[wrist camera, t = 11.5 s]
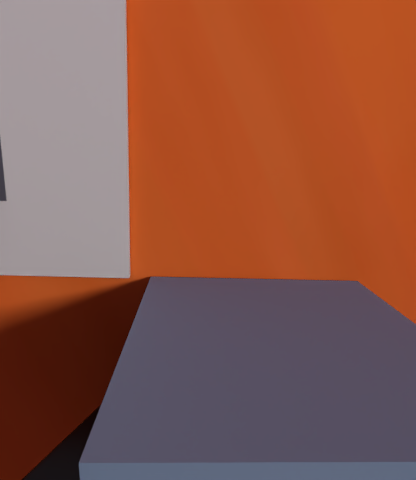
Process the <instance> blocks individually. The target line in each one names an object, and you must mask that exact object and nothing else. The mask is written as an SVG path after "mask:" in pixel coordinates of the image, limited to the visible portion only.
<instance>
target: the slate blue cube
mask: <svg viewBox="0 0 416 480" xmlns="http://www.w3.org/2000/svg"><path fill="white" fill-rule="evenodd" d="M79 475H80V480H416V324H414V323H413V322H412V321H410V320H409V319H408V318H406V317H405V316H404V315H402V314H401V313H400V312H398V311H397V310H396V309H394V308H393V307H392V306H390V305H389V304H387V303H386V302H385V301H383V300H382V299H381V298H379V297H378V296H377V295H375V294H374V293H373V292H371V291H370V290H369V289H367V288H366V287H365V286H363V285H362V284H361V283H359V282H358V281H331V280H284V279H236V278H189V277H150V280H149V283H148V285H147V288H146V290H145V293H144V295H143V298H142V301H141V303H140V306H139V308H138V311H137V314H136V316H135V319H134V321H133V324H132V327H131V329H130V332H129V334H128V337H127V339H126V342H125V345H124V347H123V350H122V352H121V355H120V358H119V360H118V363H117V365H116V368H115V370H114V373H113V376H112V378H111V381H110V383H109V386H108V389H107V391H106V394H105V396H104V399H103V402H102V404H101V407H100V409H99V412H98V414H97V417H96V420H95V422H94V425H93V427H92V430H91V433H90V435H89V438H88V440H87V443H86V445H85V448H84V451H83V453H82V456H81V458H80V461H79Z"/></svg>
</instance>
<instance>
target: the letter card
mask: <svg viewBox="0 0 416 480" xmlns="http://www.w3.org/2000/svg"><path fill="white" fill-rule="evenodd" d="M0 275H21V276H62V277H103V278H129V277H130V224H129V160H128V95H127V30H126V0H0Z"/></svg>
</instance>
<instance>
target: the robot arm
mask: <svg viewBox="0 0 416 480" xmlns="http://www.w3.org/2000/svg"><path fill="white" fill-rule="evenodd" d="M100 407H101V405H100V406H99V407H98V408H97V409H96V410H95V411H94V412H93V413H92V414H91V415H90V416H89V417H87V418H86V419H85V420H84V421H83V422H82V423H81V424H80V425H79V426H78V427H77V428H76V429H75V430H74V431H73V432H72V433H71V434H70V435H68V436H67V437H66V438H65V439H64V440H63V441H62V442H61V443H60V444H59V445H58V446H57V447H56V448H55V449H54V450H53V451H52V452H51V453H49V454H48V455H47V456H46V457H45V458H44V459H43V460H42V461H41V462H40V463H39V464H38V465H37V466H36V467H35V468H34V469H33V470H31V471H30V472H29V473H28V474H27V475H26V476H25V477H24V478H23V479H22V480H80V475H79V461H80V458H81V456H82V453H83V451H84V448H85V445H86V443H87V440H88V438H89V435H90V433H91V430H92V427H93V425H94V422H95V420H96V417H97V414H98V412H99V409H100Z"/></svg>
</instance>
